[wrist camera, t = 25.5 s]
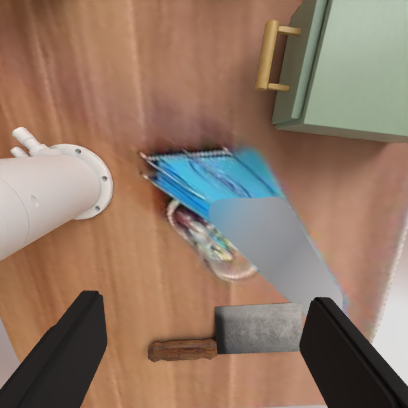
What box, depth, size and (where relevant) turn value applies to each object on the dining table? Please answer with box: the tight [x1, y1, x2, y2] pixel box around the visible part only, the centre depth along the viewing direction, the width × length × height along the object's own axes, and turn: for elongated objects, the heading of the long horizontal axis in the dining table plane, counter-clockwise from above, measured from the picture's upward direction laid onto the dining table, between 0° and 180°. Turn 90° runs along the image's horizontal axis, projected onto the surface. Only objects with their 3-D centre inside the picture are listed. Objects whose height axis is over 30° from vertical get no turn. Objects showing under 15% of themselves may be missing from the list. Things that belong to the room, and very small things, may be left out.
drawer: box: [255, 0, 328, 125], centre depth 26 cm, size 23×14×7 cm, turn 84°
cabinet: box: [275, 0, 408, 143], centre depth 26 cm, size 20×15×9 cm
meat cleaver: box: [148, 302, 302, 362], centre depth 42 cm, size 34×11×4 cm, turn 93°
